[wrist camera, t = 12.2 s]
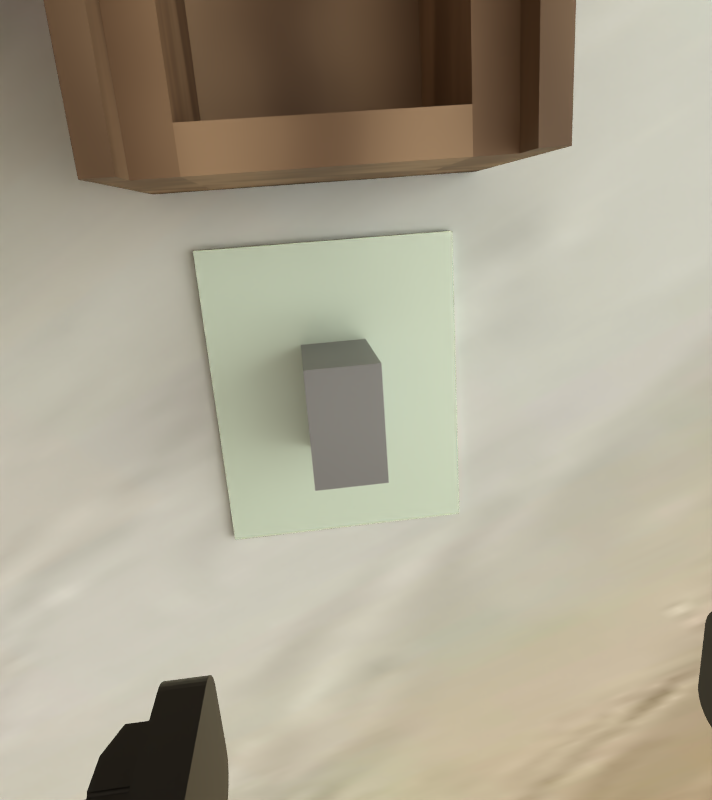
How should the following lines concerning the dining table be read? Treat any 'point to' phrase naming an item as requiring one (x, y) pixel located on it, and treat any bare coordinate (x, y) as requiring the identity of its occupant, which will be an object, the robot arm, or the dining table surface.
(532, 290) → the dining table surface
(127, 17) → the box
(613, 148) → the dining table surface
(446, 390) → the lid
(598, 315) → the dining table surface
